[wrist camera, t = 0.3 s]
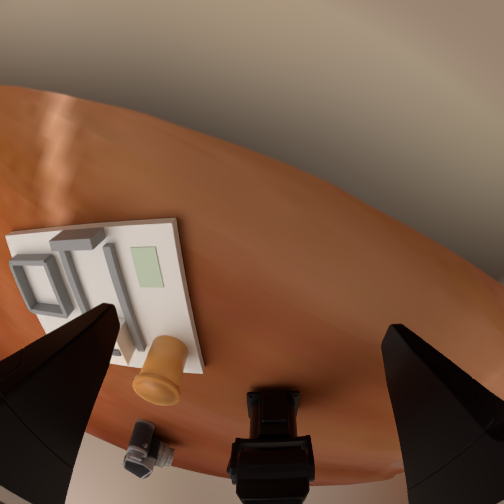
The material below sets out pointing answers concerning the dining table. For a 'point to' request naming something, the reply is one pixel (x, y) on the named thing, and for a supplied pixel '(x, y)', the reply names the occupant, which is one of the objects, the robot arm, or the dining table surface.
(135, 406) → the dining table surface
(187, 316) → the board
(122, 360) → the block
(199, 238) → the dining table surface
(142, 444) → the camera
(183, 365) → the cap
